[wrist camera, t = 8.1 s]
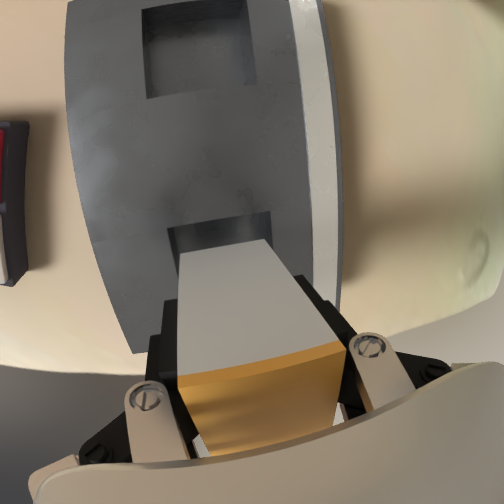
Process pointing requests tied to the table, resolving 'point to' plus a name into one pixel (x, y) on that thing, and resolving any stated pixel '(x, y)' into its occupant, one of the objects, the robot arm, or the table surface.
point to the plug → (252, 350)
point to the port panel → (202, 141)
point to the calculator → (12, 201)
